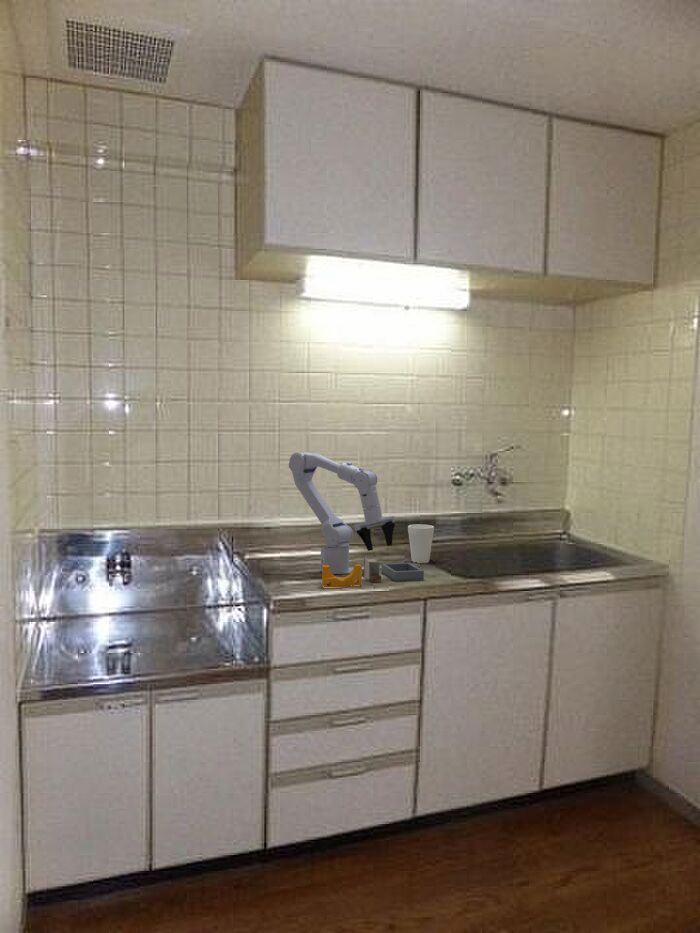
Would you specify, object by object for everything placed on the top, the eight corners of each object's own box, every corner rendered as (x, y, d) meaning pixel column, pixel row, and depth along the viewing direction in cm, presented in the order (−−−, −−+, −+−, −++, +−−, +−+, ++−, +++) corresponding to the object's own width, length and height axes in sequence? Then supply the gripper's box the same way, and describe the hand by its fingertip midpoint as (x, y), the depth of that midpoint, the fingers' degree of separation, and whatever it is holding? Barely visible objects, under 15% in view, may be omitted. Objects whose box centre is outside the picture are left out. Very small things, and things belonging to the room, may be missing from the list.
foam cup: (407, 563, 238) (408, 528, 238) (407, 558, 248) (407, 524, 247) (434, 564, 238) (434, 528, 237) (432, 559, 247) (433, 524, 246)
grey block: (370, 581, 211) (370, 562, 210) (363, 576, 217) (364, 558, 217) (379, 580, 211) (379, 562, 211) (372, 576, 218) (372, 558, 218)
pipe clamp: (324, 589, 201) (324, 568, 200) (322, 585, 205) (322, 565, 205) (362, 587, 203) (362, 567, 203) (359, 584, 207) (360, 564, 207)
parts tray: (394, 581, 211) (394, 572, 211) (381, 572, 223) (381, 563, 223) (423, 579, 214) (423, 570, 213) (409, 571, 226) (409, 562, 226)
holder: (372, 582, 209) (372, 576, 209) (362, 575, 219) (362, 569, 219) (381, 582, 210) (381, 576, 209) (370, 574, 220) (370, 568, 220)
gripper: (358, 509, 209) (367, 552, 208) (396, 501, 216) (404, 542, 215) (348, 512, 215) (356, 553, 214) (384, 504, 222) (393, 544, 221)
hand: (380, 548), depth 215 cm, fingers open, 7 cm apart
